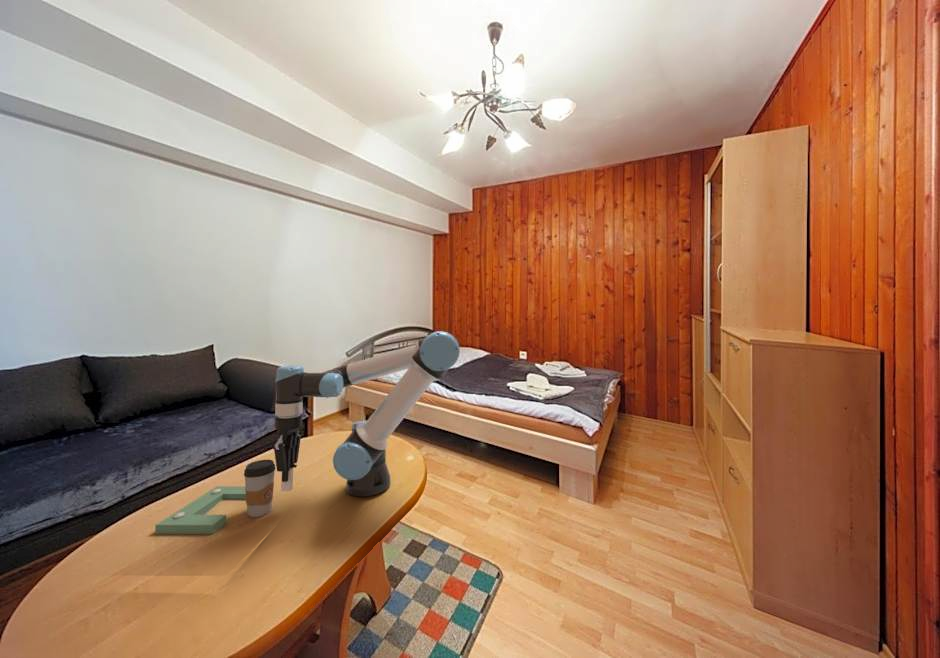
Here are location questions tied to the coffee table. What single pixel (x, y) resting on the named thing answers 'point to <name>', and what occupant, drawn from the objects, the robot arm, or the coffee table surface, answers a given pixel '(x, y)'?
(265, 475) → the coffee cup
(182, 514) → the mint green u-shaped piece
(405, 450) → the coffee table surface
